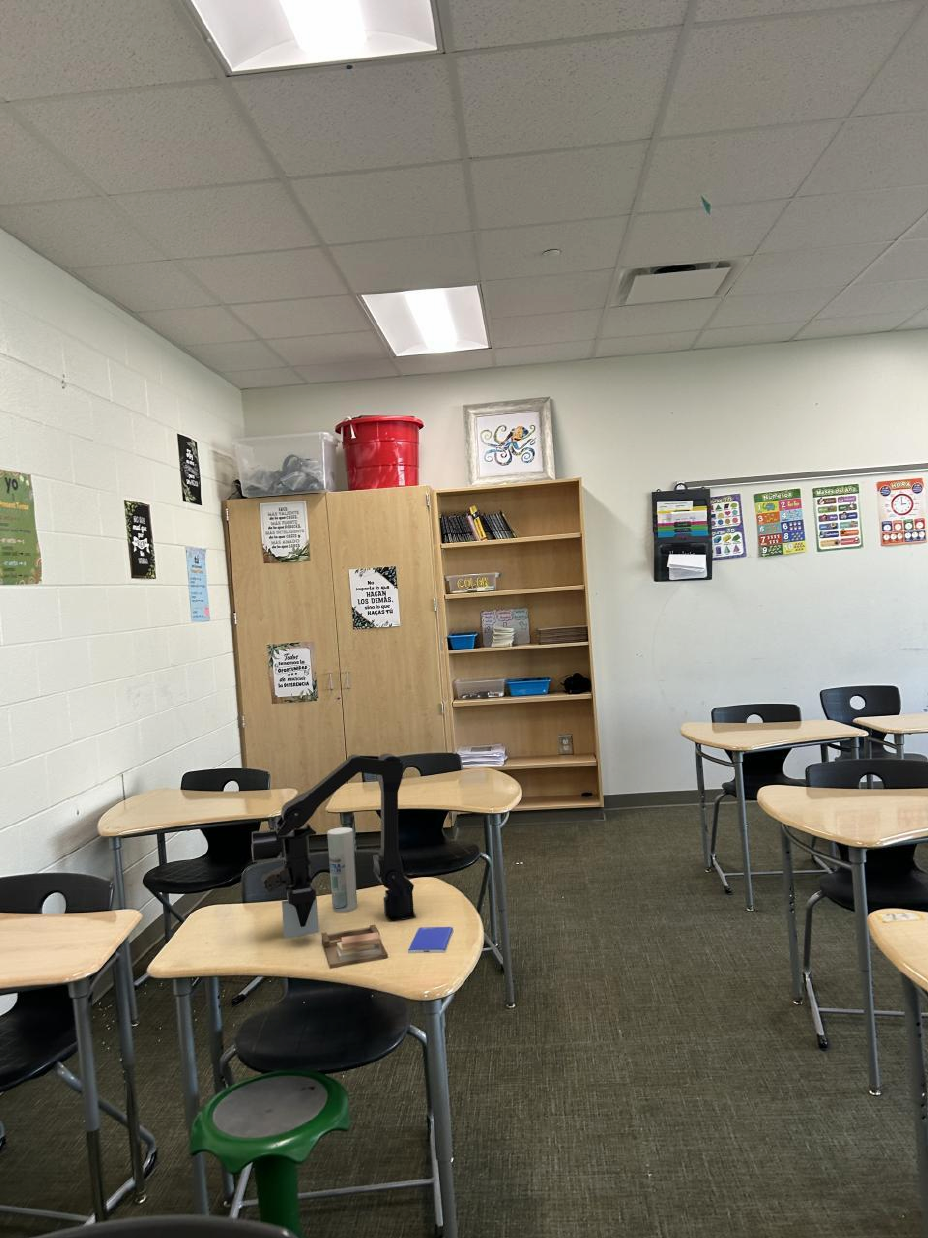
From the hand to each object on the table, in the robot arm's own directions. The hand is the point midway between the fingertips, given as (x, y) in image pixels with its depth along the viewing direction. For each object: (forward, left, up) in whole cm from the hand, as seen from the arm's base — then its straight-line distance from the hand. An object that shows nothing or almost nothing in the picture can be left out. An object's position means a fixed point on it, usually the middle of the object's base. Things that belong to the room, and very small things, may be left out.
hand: (301, 921), depth 192 cm
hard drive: (-27, +19, -4) cm, 33 cm away
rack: (-10, +16, -3) cm, 19 cm away
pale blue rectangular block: (0, 0, -3) cm, 3 cm away
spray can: (-12, -13, -3) cm, 18 cm away
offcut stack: (-10, +20, -3) cm, 23 cm away
